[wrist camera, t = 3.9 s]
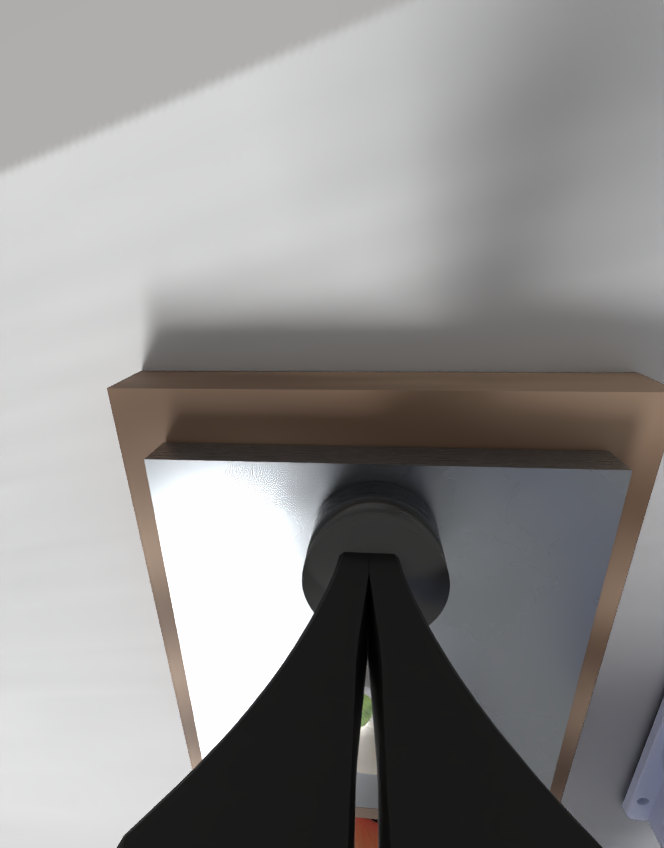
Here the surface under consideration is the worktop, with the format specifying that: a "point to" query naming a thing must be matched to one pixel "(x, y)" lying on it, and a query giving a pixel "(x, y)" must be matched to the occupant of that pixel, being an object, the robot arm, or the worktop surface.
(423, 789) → the robot arm
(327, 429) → the base
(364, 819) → the cracker box
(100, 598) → the worktop surface
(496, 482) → the plate
